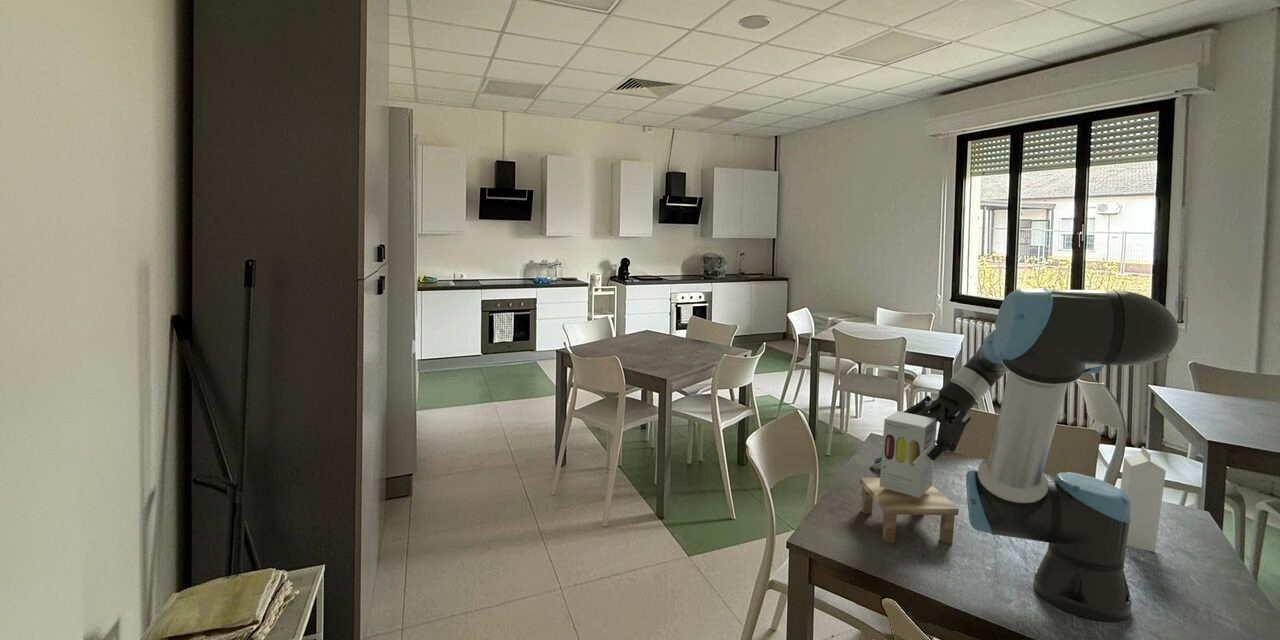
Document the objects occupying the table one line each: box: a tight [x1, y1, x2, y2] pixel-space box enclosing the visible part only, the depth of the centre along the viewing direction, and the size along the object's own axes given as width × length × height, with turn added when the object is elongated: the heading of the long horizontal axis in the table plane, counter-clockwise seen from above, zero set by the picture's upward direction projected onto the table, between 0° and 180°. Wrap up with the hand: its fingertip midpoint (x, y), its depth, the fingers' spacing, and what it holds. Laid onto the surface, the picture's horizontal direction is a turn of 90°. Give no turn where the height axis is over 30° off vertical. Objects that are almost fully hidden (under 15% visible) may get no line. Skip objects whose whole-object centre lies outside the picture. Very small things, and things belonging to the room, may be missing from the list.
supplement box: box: [879, 410, 938, 498], centre depth 141 cm, size 10×9×17 cm
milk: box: [1119, 446, 1167, 553], centre depth 135 cm, size 6×6×22 cm
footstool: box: [859, 477, 960, 544], centre depth 143 cm, size 17×16×8 cm
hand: (899, 456), depth 141 cm, fingers closed on supplement box, 12 cm apart
